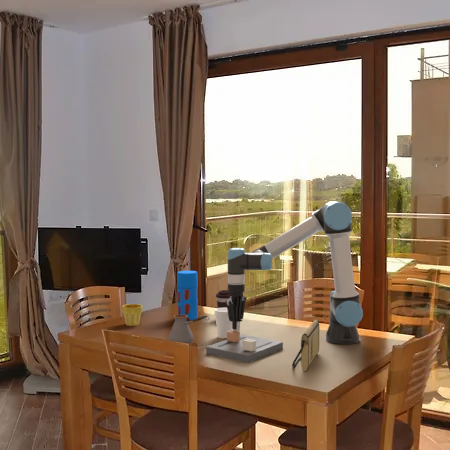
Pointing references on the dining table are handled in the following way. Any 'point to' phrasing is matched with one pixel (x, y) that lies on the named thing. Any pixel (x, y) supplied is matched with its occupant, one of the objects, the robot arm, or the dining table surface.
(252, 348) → the fader
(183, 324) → the coffee pot
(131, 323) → the plant pot
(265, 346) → the slider panel
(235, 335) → the fader
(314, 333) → the clutch purse
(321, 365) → the dining table surface
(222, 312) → the foam cup
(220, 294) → the coffee cup
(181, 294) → the thermos
